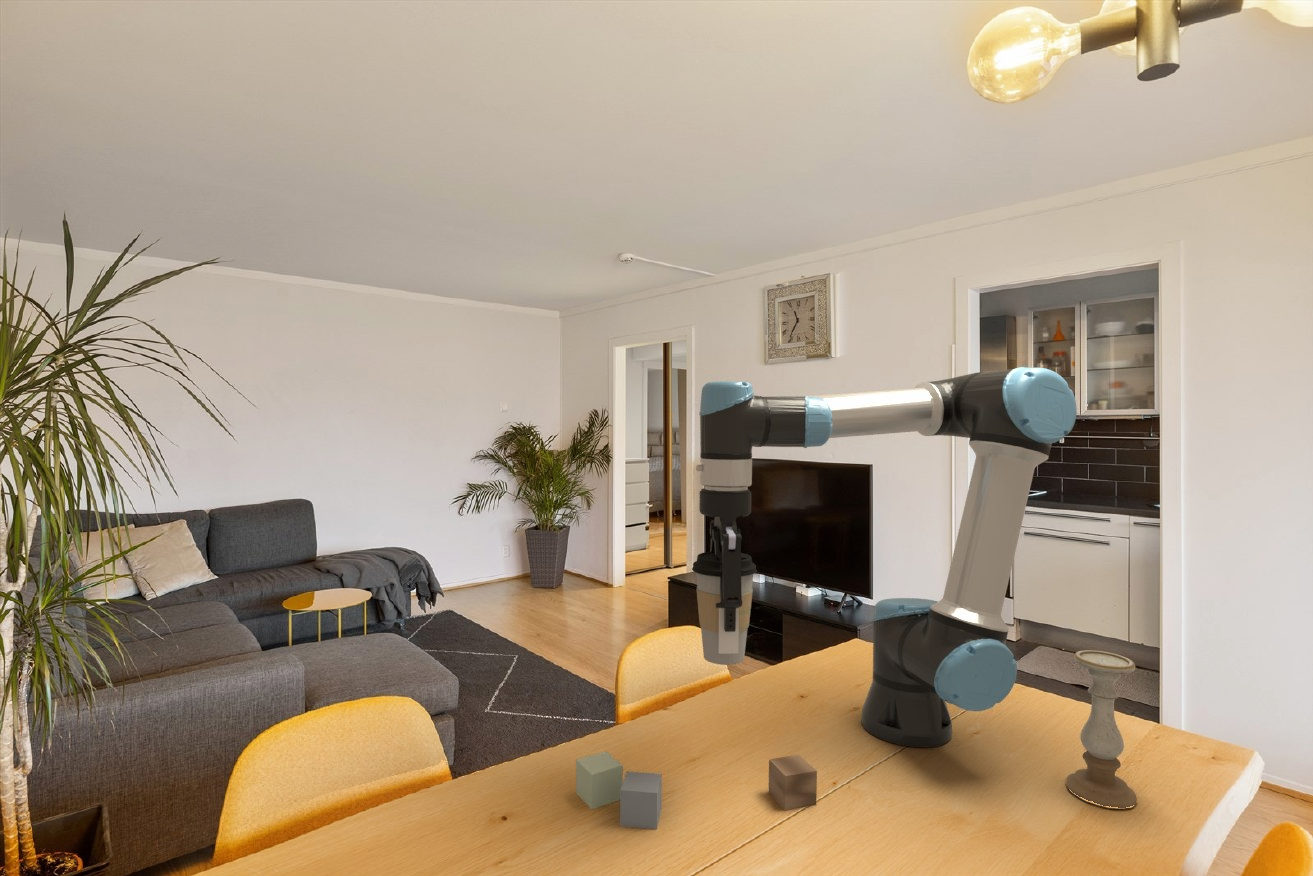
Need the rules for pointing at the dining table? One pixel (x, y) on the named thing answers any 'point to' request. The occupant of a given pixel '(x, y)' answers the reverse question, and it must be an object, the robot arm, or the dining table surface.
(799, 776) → the walnut cube
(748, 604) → the coffee cup
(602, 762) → the sage cube
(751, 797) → the dining table surface
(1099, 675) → the candle holder
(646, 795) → the slate cube
